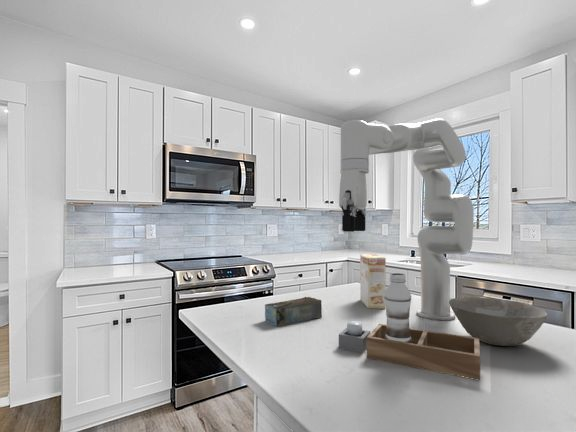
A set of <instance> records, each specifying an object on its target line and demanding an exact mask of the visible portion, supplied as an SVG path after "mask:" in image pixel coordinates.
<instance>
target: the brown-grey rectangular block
mask: <svg viewBox="0 0 576 432" xmlns="http://www.w3.org/2000/svg"><path fill="white" fill-rule="evenodd" d="M322 309H323V307H322V299H318V298H317V299H316V298H315V297H312V296H304V297H302V298H296V299H290V300H285V301H283V300H282V301H279V302H273V303H266V304H264V310H265V311H264V319H265V322H266V323H268V322H269V323H268V324H271V325H272V326H274V327H276V328H277V326H278V327H282V326H286V325H292V324H296V323H300V322H301V323H302V322H305V321H309V320H315V319H319V318H320V319H321V318H322V315H323V313H322V312H323V311H322Z"/></svg>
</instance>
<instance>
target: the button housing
mask: <svg viewBox="0 0 576 432" xmlns="http://www.w3.org/2000/svg"><path fill="white" fill-rule="evenodd" d="M370 333H371V331H370V330H365V329H362V334H361V335H350V334H348V333H347V327H346V328H344V329H343V330H341V332H340V333H338V348H339V349H342V350H349V351H353V352H360V353H365V351H367V336H368V335H369V334H370Z"/></svg>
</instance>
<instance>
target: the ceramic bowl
mask: <svg viewBox="0 0 576 432" xmlns="http://www.w3.org/2000/svg"><path fill="white" fill-rule="evenodd" d="M449 304H450V309H451V310H452V312H453V313H454V314H455V318H457V320H458V321H459V324H460V325H461V326H462V328H463V329H464V330H465V331H466V333H467V334H468V335H469V336H470V337H474V338H479V342H481V343H486V344H488V345H492V346H501V347H503V346H505V347H506V346H508V347H511V346H512V347H513V346H520V345H522V344H524V343H526V342H528V341H529V340H531V338H533V336H534V335H535V334H536V333H537V332H538V331H539V329H540V328H541V327H542V325H543V324H544V323H545V321H546V320H547V317H548V313H547V312H546V311H545V310H544V309H542V308H540V307H538V306H535V305H534V304H529V303H526V302H521V301H515V300H510V299H508V300H507V299H501V298H493V297H481V296H480V297H479V296H464V297H454V298H450V301H449Z"/></svg>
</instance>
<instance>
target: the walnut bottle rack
mask: <svg viewBox="0 0 576 432" xmlns="http://www.w3.org/2000/svg"><path fill="white" fill-rule="evenodd" d="M386 326H387V324H386V323H385V324H384V323H378V324H377V326H376V327H374V329H373V330H372V331H370V334H369V335H368V336H367V349H366V359H371V360H375V361H376V360H377V361H380V362H386V363H391V364H395V365H401V366H406V367H409V368H410V367H411V368H416V369H421V370H427V371H430V372H435V373H441V374H445V373H446V375H450V374H453V375H452V376H455V375H459V376H458V377H460V376H464V377H463V378H465V377H468V378H467V379H470V378H473V379H472V380H475V379H478V380H477V381H481V361H480V360H481V354H480V353H481V352H480V350H481V349H480V340H479V338H474V337H472V336H466V335H460V334H459V335H458V334H452V333H445V332H439V331H432V330H425V329H419V328H418V329H417V328H411V327H410V336H411V339H412V343H407V342H401V341H395V340H389V339H385V335H386Z"/></svg>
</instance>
